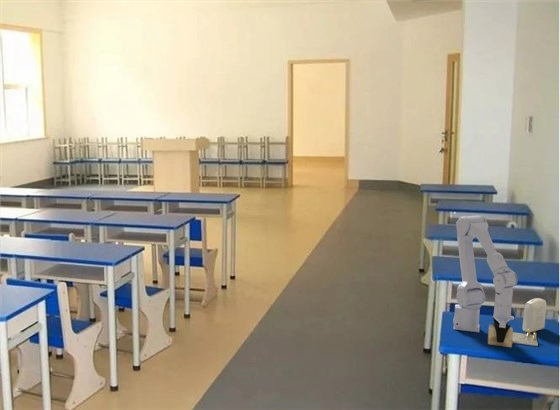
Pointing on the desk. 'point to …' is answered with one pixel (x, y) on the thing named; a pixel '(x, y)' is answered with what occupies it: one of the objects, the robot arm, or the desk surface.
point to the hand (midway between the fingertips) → (499, 339)
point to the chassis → (525, 338)
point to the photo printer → (534, 315)
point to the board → (493, 339)
